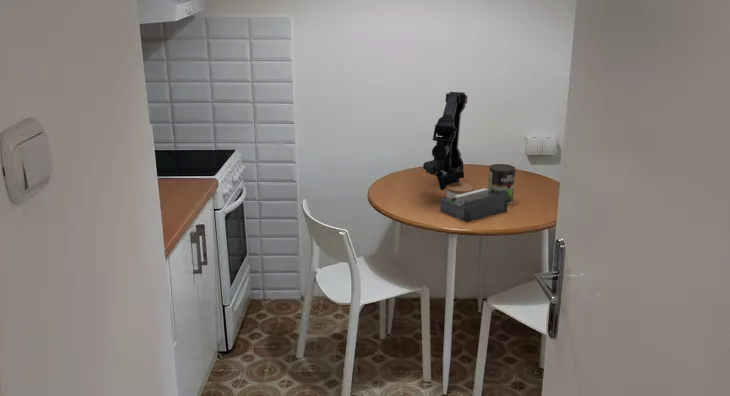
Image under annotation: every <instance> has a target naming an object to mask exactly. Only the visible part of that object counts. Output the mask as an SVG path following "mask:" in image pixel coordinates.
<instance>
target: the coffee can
mask: <svg viewBox="0 0 730 396" xmlns="http://www.w3.org/2000/svg"><path fill="white" fill-rule="evenodd" d="M488 168H489V169H488V170H489V171H488V172H489V173H488V174H489V175H488V187H487V189H488V192H490V193H495V192H499V191H503V190H505V191H508V203H507V206H508V205H511V204H513V202H514V189H515V178H516V177H515V175H516V167H515V166H513V165H511V164H505V163H495V164H491V165H489V167H488Z"/></svg>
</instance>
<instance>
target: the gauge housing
mask: <svg viewBox="0 0 730 396" xmlns="http://www.w3.org/2000/svg"><path fill="white" fill-rule="evenodd" d="M479 189H480V188H477V189H476V190H479ZM507 203H508V191H505V190H503V191H499V192H495V193H490V192H488V195H484V196H480V197H476V198H472V199H468V200H465V201H464V205H463V204H461V203H458V202H456V201H454V200H451V199H448V198H447V196H444V197H440V204H439V205H440V209H439V210H440V211H439V212H442V213H445V214H447V215H449V216H451V215H452V216H451V217H453V216H454V217H453V218H456V219H458V218H459V219H458V220H460V219H461V221H463V220H464V222H465V221H466V223H470V222H473V221H472V220H474V221H477V220H480V219H484V218H487V217H491V216H494V215H498V214H501V213H505V212H507V211H508V205H507ZM469 221H470V222H469Z"/></svg>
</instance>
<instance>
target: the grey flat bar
mask: <svg viewBox="0 0 730 396" xmlns="http://www.w3.org/2000/svg"><path fill="white" fill-rule="evenodd" d="M478 189H479V190H477V189H476V190H474V191H472V192H468V193H464V194H460V195H456V196H454V198H452V199H451V200H454V201H456V202H458V203H461V204H463V205H464V201H465V200H468V199H472V198H476V197H480V196H484V195H488V188H485V187H484V188H478Z"/></svg>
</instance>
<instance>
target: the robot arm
mask: <svg viewBox="0 0 730 396" xmlns="http://www.w3.org/2000/svg"><path fill="white" fill-rule="evenodd" d="M467 103H468V95H467V94H466V93H465V92H461V91H450V92H448V93H445V107H444V110H443V114H442V116H441V117H440V118H438V120H437V121H436V124H435V125H434V130H433V136H432V141H433V142H434V141H435V142H436V143H435V145H434V146H433V148H432V149H431V156H432V157H433V160H428V161H425V162H423V167H422V169H423V170H425V172H426V174H430V175H431V176H433V175H434V176H435V177H436V178H437V182H438V185H439V188H440V190H441V191H445V189H446V188H447V185H448V184H451V183H459V182H460V179H463V178H465V172H464V167H465V166H464V161H463V157H462V153H461V151H460V150H459V140H460V127H461V117H462V113H463V112H464V110H465V108H466V104H467Z"/></svg>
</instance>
